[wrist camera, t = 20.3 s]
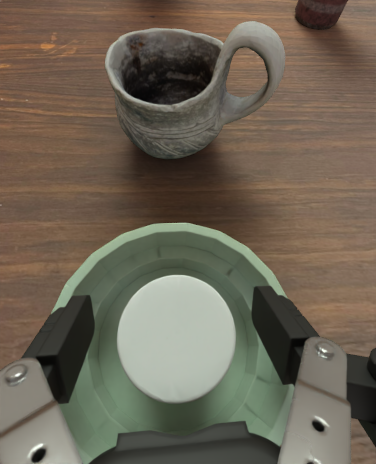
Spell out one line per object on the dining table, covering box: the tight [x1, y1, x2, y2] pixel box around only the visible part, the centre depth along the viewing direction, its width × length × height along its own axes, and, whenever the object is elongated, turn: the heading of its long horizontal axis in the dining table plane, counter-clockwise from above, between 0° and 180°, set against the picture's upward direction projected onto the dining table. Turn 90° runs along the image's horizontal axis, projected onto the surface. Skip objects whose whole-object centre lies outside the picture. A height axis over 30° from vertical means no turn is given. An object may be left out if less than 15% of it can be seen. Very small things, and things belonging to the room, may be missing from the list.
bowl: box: [51, 223, 295, 464], centre depth 14 cm, size 12×12×5 cm
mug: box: [105, 21, 285, 159], centre depth 20 cm, size 10×12×10 cm
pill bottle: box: [117, 275, 236, 404], centre depth 12 cm, size 5×5×8 cm
